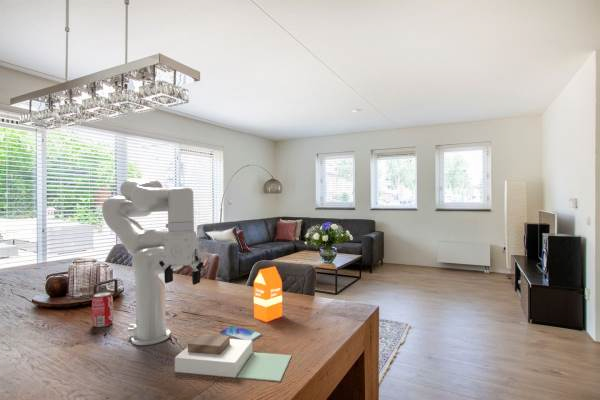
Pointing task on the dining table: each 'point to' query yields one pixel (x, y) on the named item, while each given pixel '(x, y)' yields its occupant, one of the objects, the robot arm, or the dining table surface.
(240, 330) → the smartphone
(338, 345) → the dining table surface
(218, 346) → the walnut tile
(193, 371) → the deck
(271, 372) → the mat
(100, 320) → the soda can
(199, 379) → the dining table surface
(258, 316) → the orange juice
